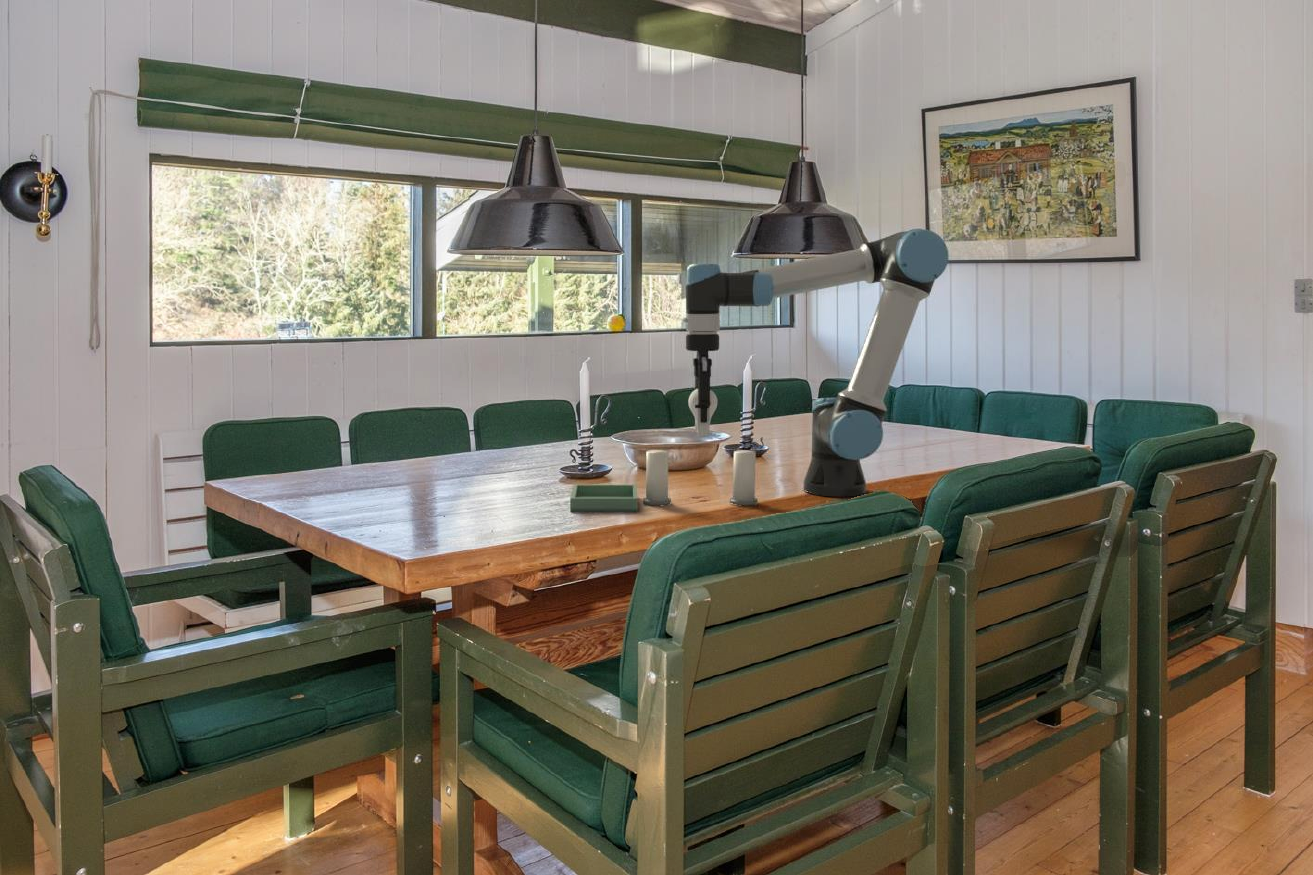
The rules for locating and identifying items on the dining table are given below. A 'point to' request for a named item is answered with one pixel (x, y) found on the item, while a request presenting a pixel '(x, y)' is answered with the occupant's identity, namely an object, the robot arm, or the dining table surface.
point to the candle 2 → (744, 478)
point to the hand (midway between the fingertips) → (702, 434)
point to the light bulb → (694, 401)
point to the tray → (604, 498)
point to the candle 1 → (656, 478)
